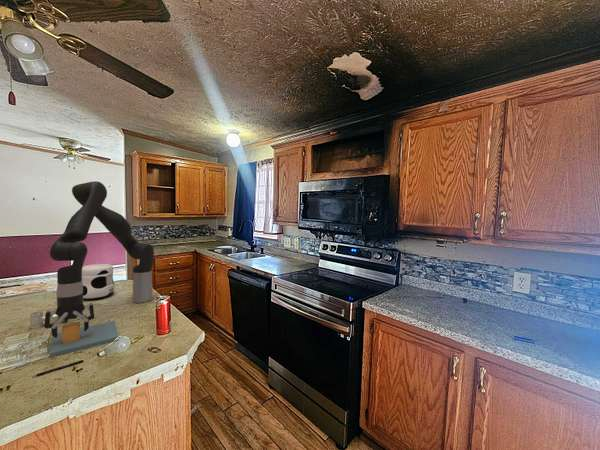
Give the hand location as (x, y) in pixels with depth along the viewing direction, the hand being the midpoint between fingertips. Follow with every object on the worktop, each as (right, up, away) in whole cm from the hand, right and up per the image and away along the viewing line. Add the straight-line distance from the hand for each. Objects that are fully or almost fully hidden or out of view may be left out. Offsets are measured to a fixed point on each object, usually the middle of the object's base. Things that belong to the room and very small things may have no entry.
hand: (71, 333), depth 99 cm
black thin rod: (+10, -6, -15) cm, 19 cm away
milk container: (-31, 0, +50) cm, 59 cm away
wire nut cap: (0, -2, 0) cm, 2 cm away
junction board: (+3, -4, +4) cm, 6 cm away
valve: (-23, -3, +14) cm, 27 cm away
